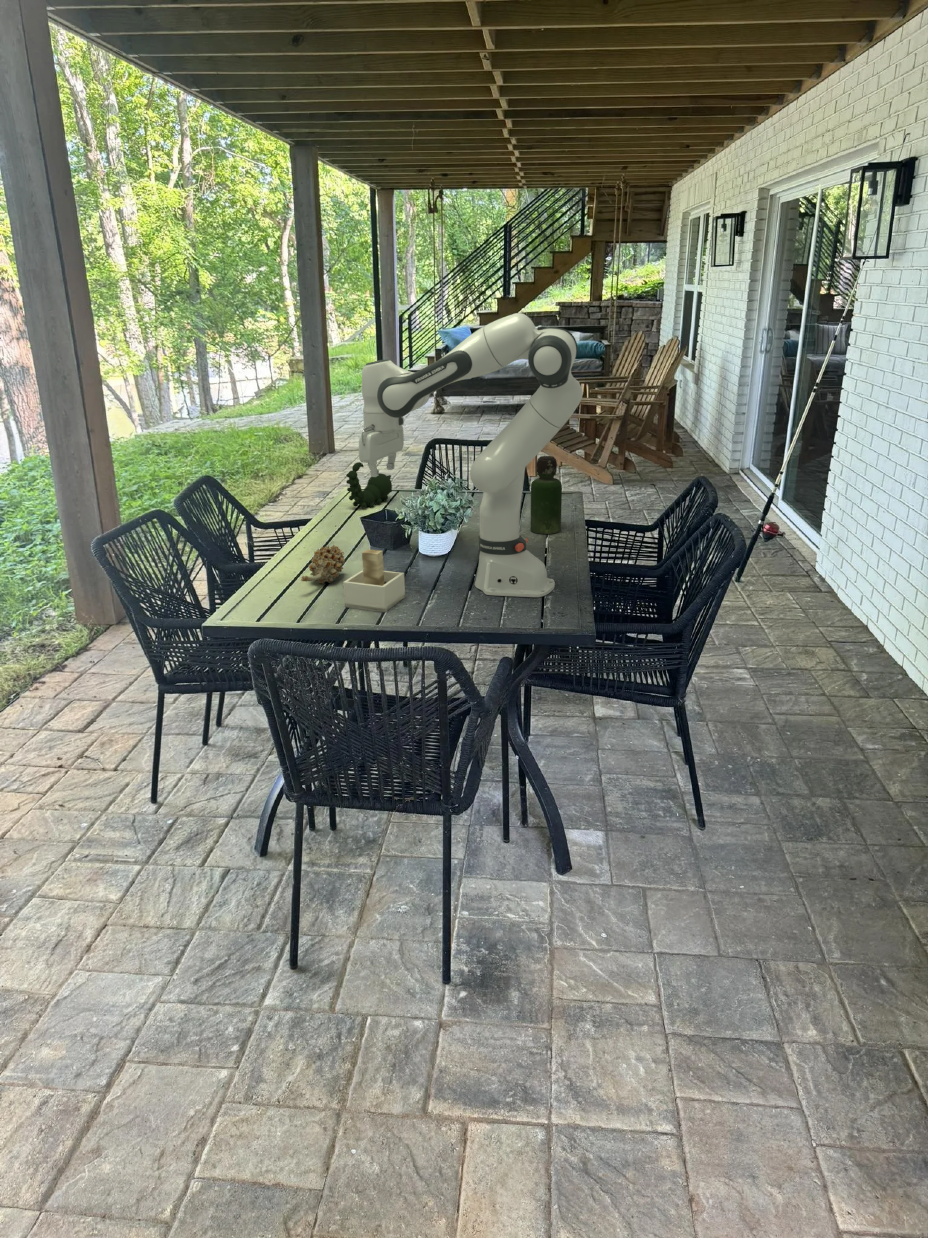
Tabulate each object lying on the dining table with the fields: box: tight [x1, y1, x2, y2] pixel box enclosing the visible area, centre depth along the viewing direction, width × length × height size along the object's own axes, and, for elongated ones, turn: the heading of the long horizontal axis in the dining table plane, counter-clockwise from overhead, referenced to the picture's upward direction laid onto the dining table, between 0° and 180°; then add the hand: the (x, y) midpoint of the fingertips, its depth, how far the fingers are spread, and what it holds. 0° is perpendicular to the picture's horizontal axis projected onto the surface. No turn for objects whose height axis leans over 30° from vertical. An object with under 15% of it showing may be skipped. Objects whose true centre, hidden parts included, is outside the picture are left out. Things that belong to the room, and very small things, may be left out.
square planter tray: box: [342, 569, 406, 613], centre depth 231 cm, size 12×12×7 cm
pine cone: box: [300, 544, 346, 585], centre depth 245 cm, size 22×10×10 cm, turn 167°
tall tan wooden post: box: [361, 548, 385, 586], centre depth 230 cm, size 4×3×13 cm, turn 68°
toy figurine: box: [345, 461, 393, 509], centre depth 329 cm, size 9×19×25 cm
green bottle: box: [530, 455, 563, 535], centre depth 289 cm, size 10×10×25 cm
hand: (382, 472), depth 238 cm, fingers open, 8 cm apart
